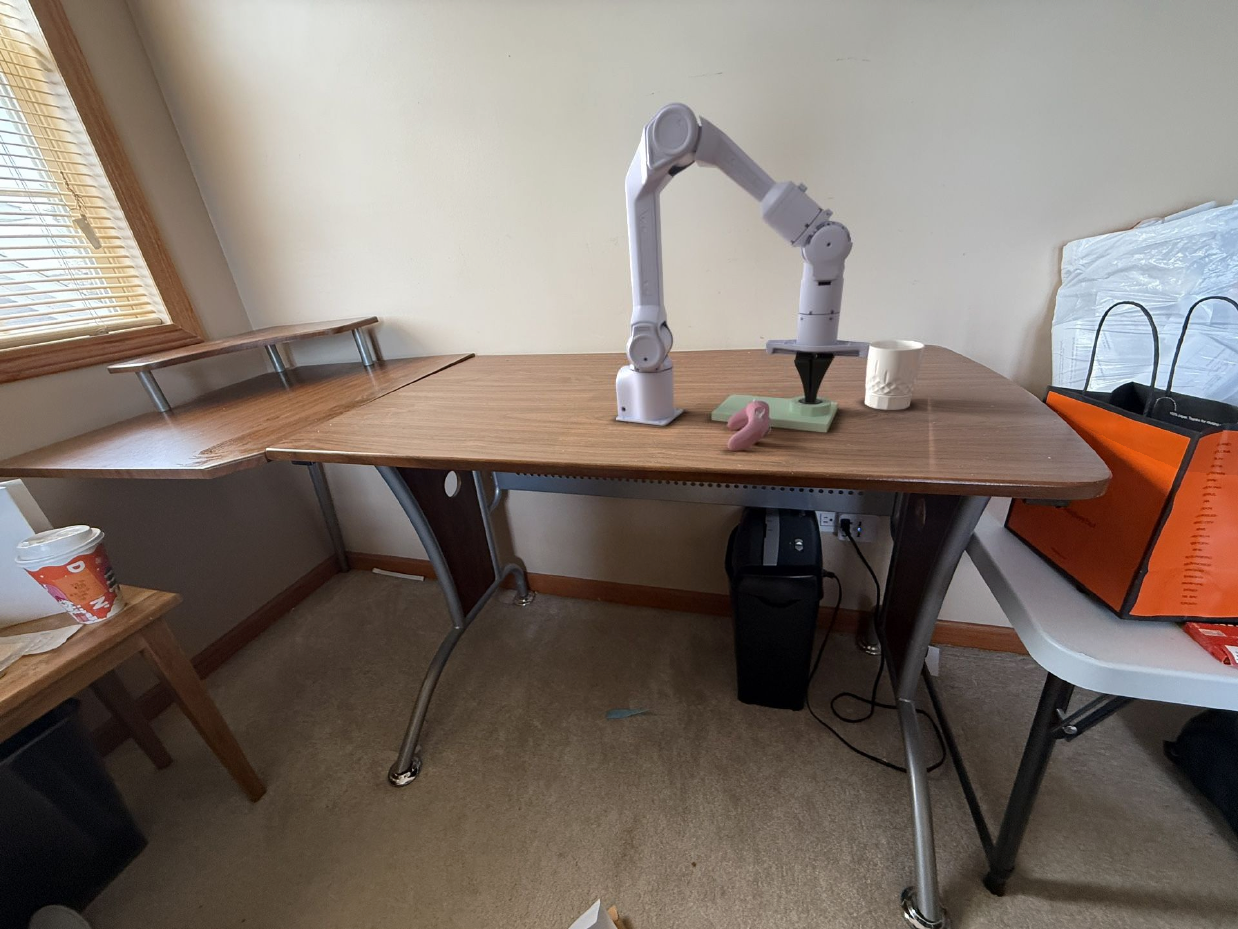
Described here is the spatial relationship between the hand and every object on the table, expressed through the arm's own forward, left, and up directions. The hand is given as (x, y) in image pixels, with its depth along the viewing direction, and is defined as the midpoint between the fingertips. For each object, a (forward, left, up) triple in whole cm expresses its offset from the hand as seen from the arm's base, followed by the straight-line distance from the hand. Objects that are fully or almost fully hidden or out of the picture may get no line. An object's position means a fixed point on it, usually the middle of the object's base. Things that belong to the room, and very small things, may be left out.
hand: (810, 400), depth 76 cm
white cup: (+10, +11, -3) cm, 16 cm away
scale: (-6, 0, -3) cm, 6 cm away
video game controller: (-7, -12, -3) cm, 14 cm away
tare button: (0, 0, -2) cm, 2 cm away
